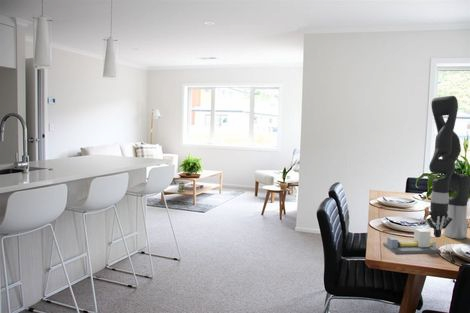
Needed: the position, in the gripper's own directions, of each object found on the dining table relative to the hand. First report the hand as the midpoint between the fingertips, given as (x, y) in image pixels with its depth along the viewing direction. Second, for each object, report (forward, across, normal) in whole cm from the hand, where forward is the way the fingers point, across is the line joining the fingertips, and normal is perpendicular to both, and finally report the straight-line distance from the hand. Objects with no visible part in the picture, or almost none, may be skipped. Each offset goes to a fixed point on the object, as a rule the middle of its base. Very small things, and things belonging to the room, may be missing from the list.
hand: (437, 236), depth 194 cm
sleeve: (+4, +8, 0) cm, 9 cm away
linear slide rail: (+6, +13, 0) cm, 14 cm away
